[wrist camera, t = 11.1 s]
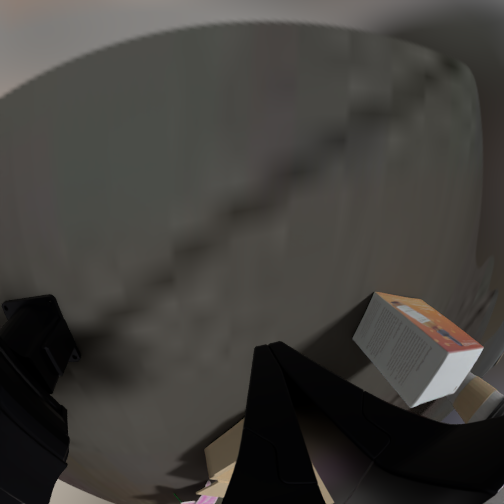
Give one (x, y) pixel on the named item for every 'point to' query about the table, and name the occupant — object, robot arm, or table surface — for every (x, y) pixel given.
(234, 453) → the carton
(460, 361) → the small box
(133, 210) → the table surface
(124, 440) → the table surface
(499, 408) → the coffee cup
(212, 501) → the lily
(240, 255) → the table surface
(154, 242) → the table surface
